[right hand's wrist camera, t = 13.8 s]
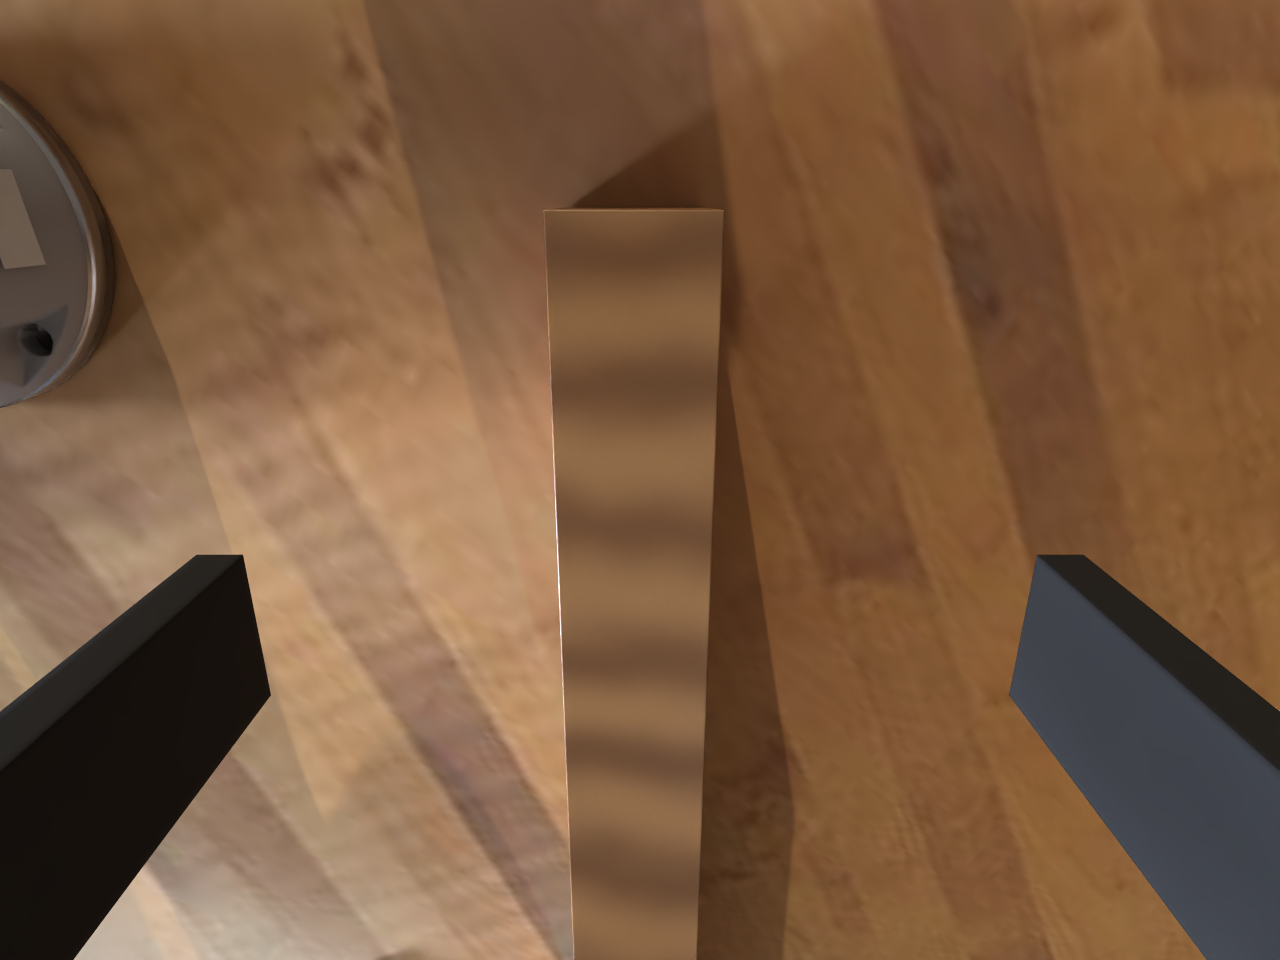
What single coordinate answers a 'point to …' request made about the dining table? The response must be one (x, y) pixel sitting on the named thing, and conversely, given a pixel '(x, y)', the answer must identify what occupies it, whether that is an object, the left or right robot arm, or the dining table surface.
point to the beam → (634, 560)
